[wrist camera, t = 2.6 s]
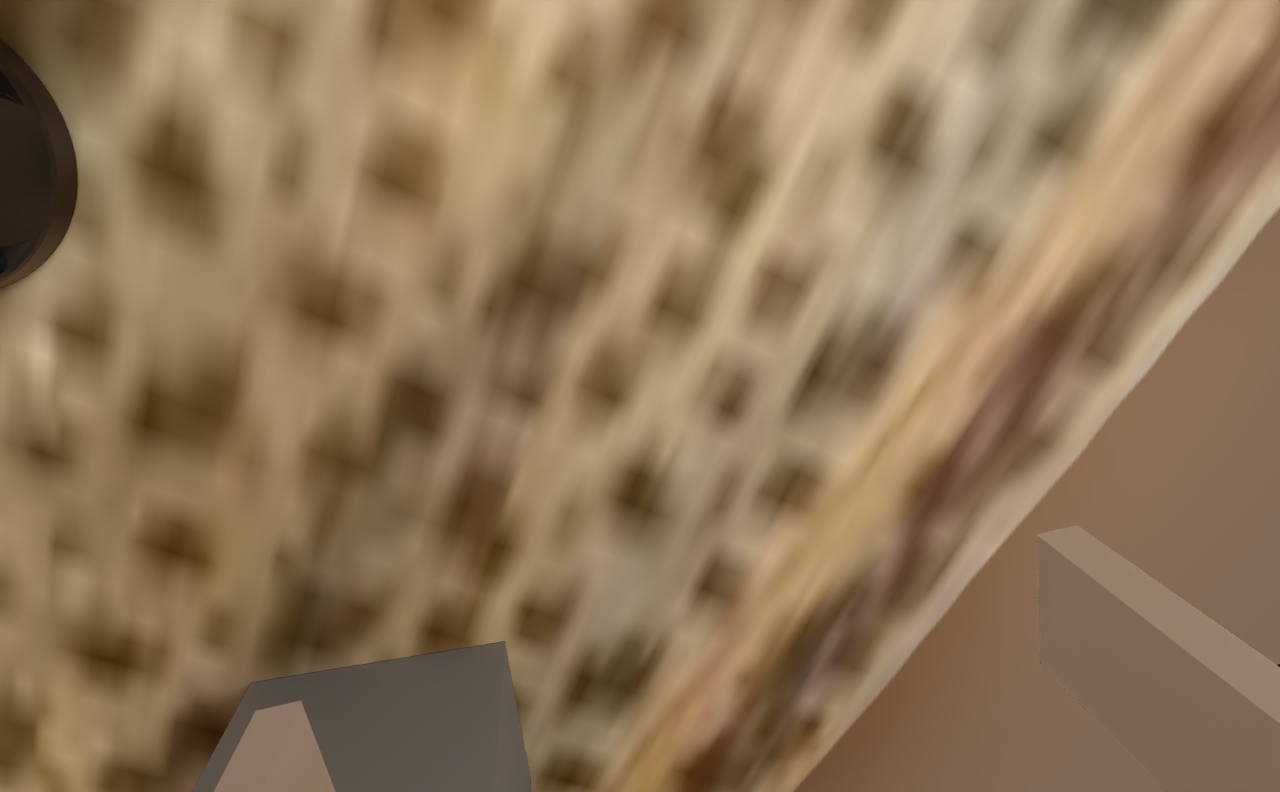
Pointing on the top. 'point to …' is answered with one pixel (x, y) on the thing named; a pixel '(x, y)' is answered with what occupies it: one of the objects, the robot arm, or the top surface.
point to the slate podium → (402, 723)
